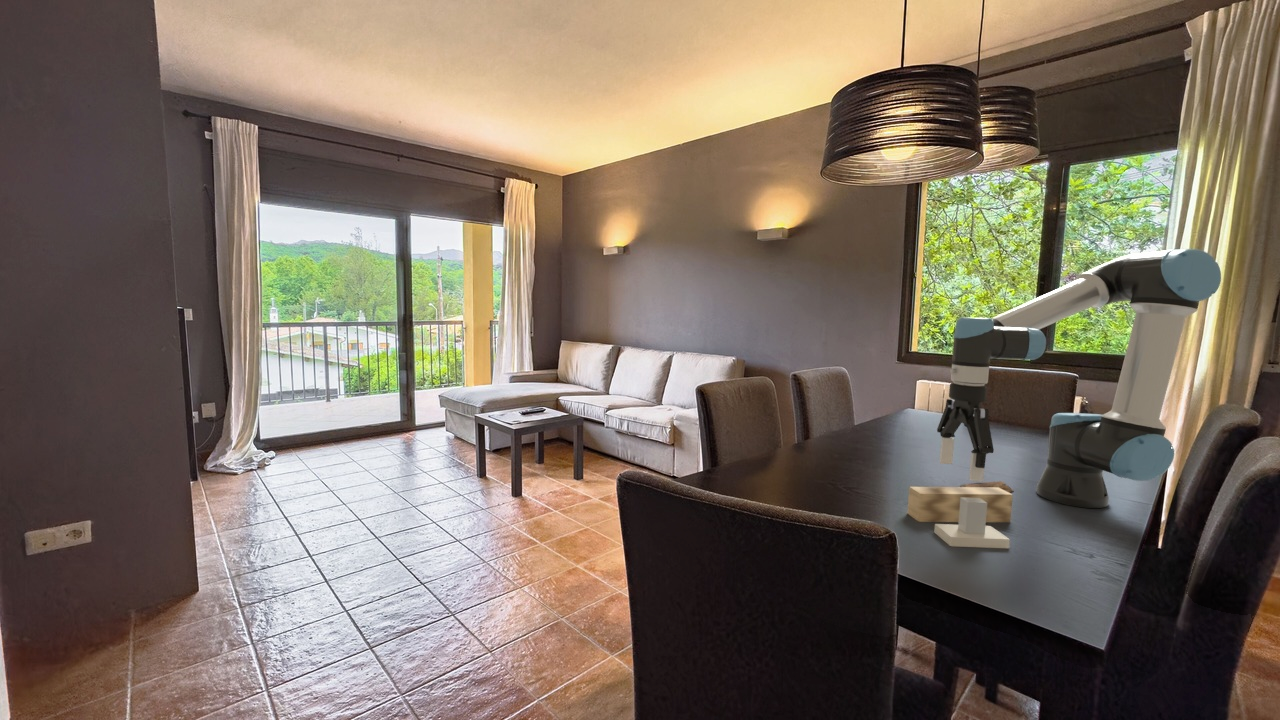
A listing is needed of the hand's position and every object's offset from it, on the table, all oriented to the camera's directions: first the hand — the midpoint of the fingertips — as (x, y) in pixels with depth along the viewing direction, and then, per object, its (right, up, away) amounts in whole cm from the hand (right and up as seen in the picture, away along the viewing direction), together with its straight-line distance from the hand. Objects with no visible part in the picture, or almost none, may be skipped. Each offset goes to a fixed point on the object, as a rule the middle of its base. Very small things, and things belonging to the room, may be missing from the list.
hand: (960, 471), depth 130 cm
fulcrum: (-4, -13, -12) cm, 18 cm away
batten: (0, -12, +1) cm, 12 cm away
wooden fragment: (+19, -10, +21) cm, 30 cm away
